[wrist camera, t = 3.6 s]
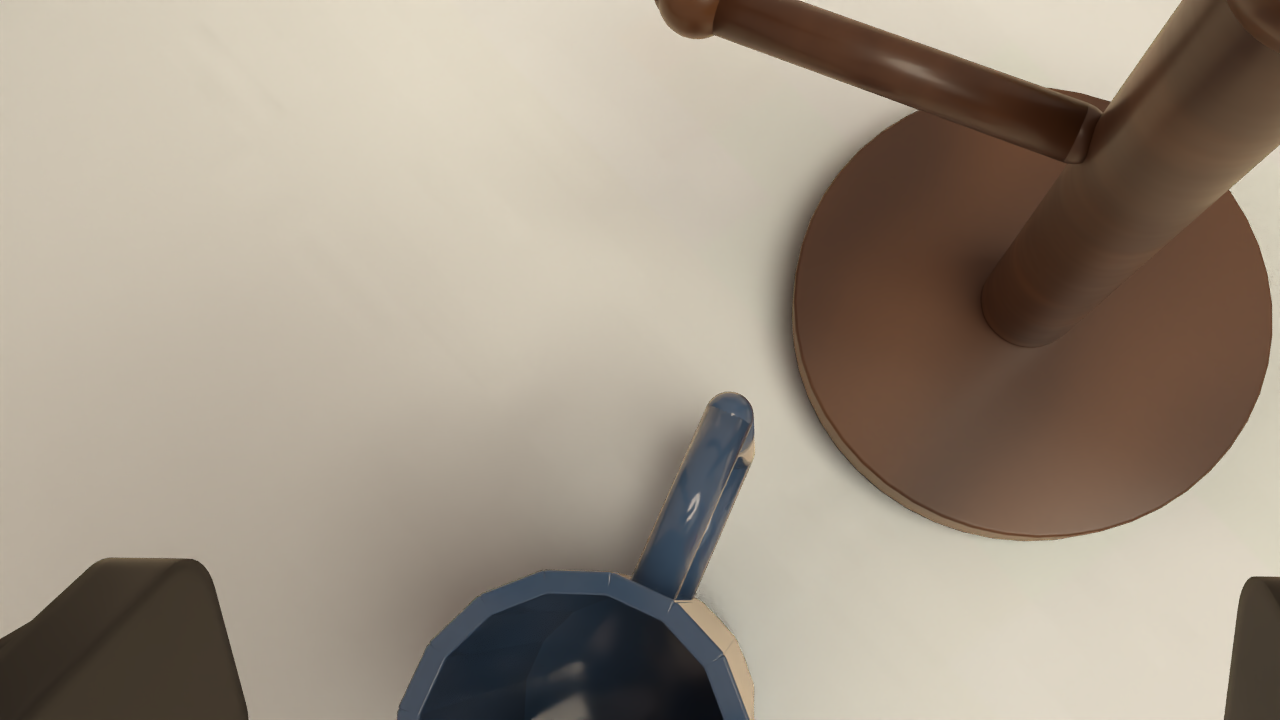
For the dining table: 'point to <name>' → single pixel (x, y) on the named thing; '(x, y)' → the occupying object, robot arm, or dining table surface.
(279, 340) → the dining table surface
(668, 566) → the mug
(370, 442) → the dining table surface
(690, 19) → the mug tree
